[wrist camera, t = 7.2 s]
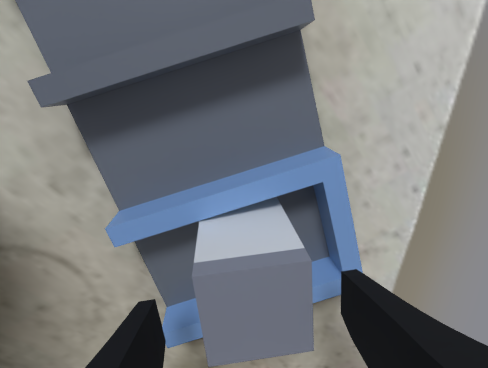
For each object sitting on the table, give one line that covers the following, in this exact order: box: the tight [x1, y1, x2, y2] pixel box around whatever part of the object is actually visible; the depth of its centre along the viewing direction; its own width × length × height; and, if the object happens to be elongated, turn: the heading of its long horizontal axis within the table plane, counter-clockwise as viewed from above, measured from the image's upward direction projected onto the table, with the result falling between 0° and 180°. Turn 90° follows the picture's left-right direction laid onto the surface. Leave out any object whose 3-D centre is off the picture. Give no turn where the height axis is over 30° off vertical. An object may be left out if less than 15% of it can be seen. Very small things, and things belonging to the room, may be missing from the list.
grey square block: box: [192, 197, 314, 367], centre depth 13 cm, size 4×4×6 cm
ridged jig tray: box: [15, 0, 363, 348], centre depth 13 cm, size 11×21×3 cm, turn 17°
